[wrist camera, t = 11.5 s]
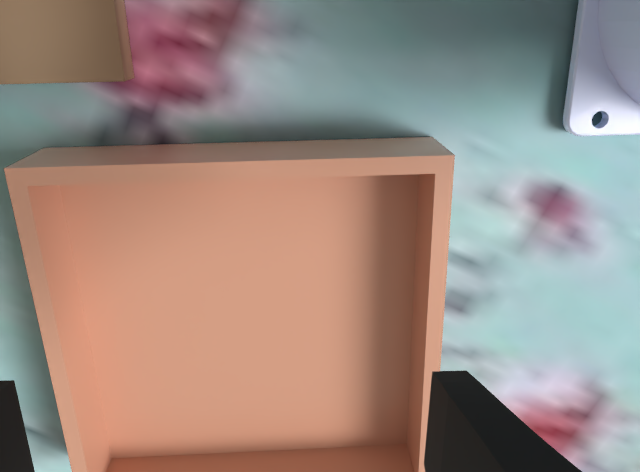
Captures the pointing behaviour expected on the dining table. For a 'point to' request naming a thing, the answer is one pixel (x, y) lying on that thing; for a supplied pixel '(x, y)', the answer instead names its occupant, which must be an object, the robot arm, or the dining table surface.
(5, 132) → the dining table surface
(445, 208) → the terracotta tray
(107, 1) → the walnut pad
